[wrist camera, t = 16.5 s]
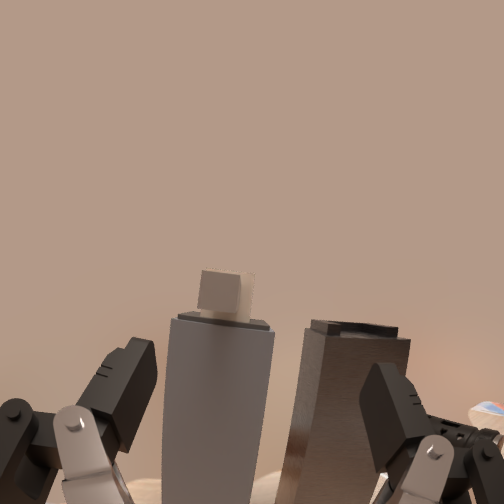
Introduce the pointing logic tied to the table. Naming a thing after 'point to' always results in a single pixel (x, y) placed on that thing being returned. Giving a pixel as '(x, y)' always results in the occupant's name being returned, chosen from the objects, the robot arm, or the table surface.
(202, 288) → the plug
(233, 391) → the tall grey square pillar
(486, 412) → the table surface
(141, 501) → the table surface
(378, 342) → the stand
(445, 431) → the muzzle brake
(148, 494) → the table surface
